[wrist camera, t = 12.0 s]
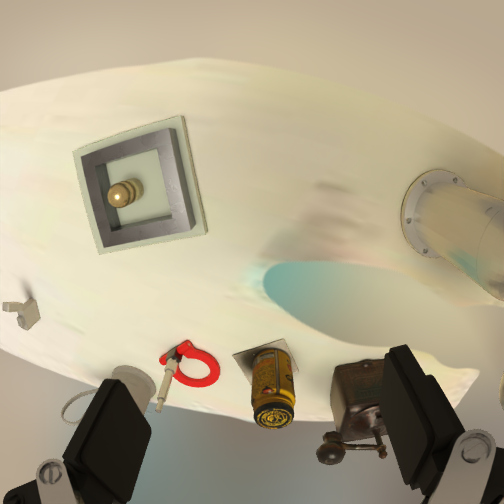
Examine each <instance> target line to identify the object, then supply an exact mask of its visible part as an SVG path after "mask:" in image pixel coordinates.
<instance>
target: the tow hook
mask: <svg viewBox="0 0 504 504" xmlns="http://www.w3.org/2000/svg"><path fill="white" fill-rule="evenodd" d="M183 355H184V356H185V357H187V358H193V359H198V360H201V361H203V362H204V363H206V364H207V365H208V367H209V368H210V374H209V375H208V376H207V377H205V378H203V379H192V378H189V377H187V376H185V375H184V374H182V373H181V371H180V370H179V367H178V364H179V362H181V359H182V356H183ZM159 362H160V363H161V364H162V365H166V367H165V375H164V379H163V382H162V385H161V388H160V391H159V395H158V398H157V399H158V403H157V407H156V412H158V413H160V412H161V410H162V407H163V403H164V402H165V401H166V398H167V395H168V391H169V388H170V384H171V380H172V377H174V378H175V379H176V380H178V381H179V382H180V383H183V384H185V385H187V386H191V387H198V388H199V387H206V386H210V385H212V384H213V383H215V382H216V381H217V380H218V378H219V375H220V367H219V364H218V362H217V361H216V360H215V358H213V357H212V356H211V355H210V354H208V353H206V352H204V351H200V350H197V349H195V348H194V347H193V346H192V343H191V342H190V341H186V342H184V343H183V344H181V345H179V346H177V347H175V348H174V349H172V350H171V351H169V352H168V353H167V354H166V355H164V356H162V357H161V358H159Z"/></svg>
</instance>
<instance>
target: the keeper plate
mask: <svg viewBox="0 0 504 504" xmlns="http://www.w3.org/2000/svg"><path fill="white" fill-rule="evenodd" d="M166 128H173V129H176V133H177V138H178V143H179V148H180V153H181V157H182V162H183V167H184V172H185V176H186V181H187V186H188V190H189V195H190V199H191V204H192V208H193V212H194V217H195V221H196V225H195V226H194V227H193V229H192V230H191V231H187V232H182V233H176V234H171V235H166V236H161V237H156V238H150V239H145V240H140V241H135V242H130V243H126V244H121V245H116V246H111V247H106V248H104V247H103V244H102V240H101V237H100V234H99V230H98V227H97V223H96V220H95V216H94V212H93V209H92V205H91V201H90V197H89V193H88V189H87V184H86V180H85V176H84V171H83V166H82V162H81V156H83V155H86V154H88V153H91V152H94V151H97V150H99V149H102V148H105V147H108V146H111V145H114V144H117V143H120V142H123V141H126V140H129V139H132V138H135V137H138V136H142V135H145V134H148V133H152V132H155V131H159V130H162V129H166ZM73 157H74V162H75V167H76V171H77V176H78V180H79V185H80V189H81V193H82V197H83V201H84V205H85V209H86V213H87V216H88V220H89V223H90V227H91V230H92V234H93V237H94V240H95V244H96V247H97V250H98V253H99V255H101V254H106V253H111V252H116V251H121V250H126V249H131V248H136V247H141V246H147V245H152V244H157V243H162V242H168V241H173V240H179V239H184V238H190V237H195V236H201V235H206V233H207V232H208V230H207V226H206V222H205V217H204V213H203V208H202V204H201V199H200V195H199V190H198V185H197V181H196V176H195V171H194V166H193V162H192V157H191V152H190V147H189V142H188V137H187V132H186V126H185V121H184V117H183V116H177V117H174V118H170V119H166V120H163V121H159V122H156V123H152V124H149V125H146V126H142V127H139V128H136V129H133V130H130V131H127V132H124V133H121V134H118V135H115V136H112V137H109V138H106V139H104V140H101V141H98V142H96V143H93V144H90V145H88V146H85V147H83V148H80V149H78V150H75V151H73ZM106 166H107V171H108V176H109V180H110V184H111V186H112V185H113V184H115V183H118V182H121V181H124V180H127V179H130V178H136V179H138V180H140V181H141V182H142V184H143V187H144V193H143V196H142V197H141V199H139V200H138V201H136V202H134V203H132V204H130V205H128V206H126V207H124V208H116V209H117V212H118V216H119V220H120V224H121V225H126V224H130V223H134V222H139V221H143V220H148V219H152V218H157V217H162V216H166V215H171V210H170V206H169V202H168V197H167V193H166V189H165V184H164V180H163V175H162V171H161V166H160V161H159V157H158V152H157V149H154V150H151V151H147V152H144V153H140V154H137V155H133V156H130V157H127V158H124V159H120V160H117V161H114V162H111V163H108V164H106Z"/></svg>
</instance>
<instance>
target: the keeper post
mask: <svg viewBox="0 0 504 504" xmlns="http://www.w3.org/2000/svg"><path fill="white" fill-rule="evenodd" d="M143 193H144V187H143V184H142V182H141V181H140V180H138V179H136V178H130V179H127V180H124V181H121V182H118V183H115V184H113V185H112V186H111V187H110V189H109V191H108V201H109V203H110V204H111V205H112V206H113V207H115V208H124V207H126V206H128V205H130V204H132V203H134V202H136V201H138V200H139V199H141V197H142V196H143Z"/></svg>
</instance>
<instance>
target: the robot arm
mask: <svg viewBox="0 0 504 504" xmlns="http://www.w3.org/2000/svg"><path fill="white" fill-rule="evenodd" d="M422 182H423V183H422ZM407 218H408V219H407ZM406 219H407V220H406ZM401 223H402V229H403V232H404V235H405V238H406V240H407V241H408V243H409V244H410V246H411V247H412V248H413V249H414V250H416V251H417V252H418V253H419V254H421V255H423V256H426V257H430V258H439V257H443V258H445V259H446V260H447V261H449V262H450V263H451V264H453V265H454V266H455V267H457V268H458V269H459V270H460V271H462V272H463V273H464V274H466V275H467V276H468V277H469V278H471V279H472V280H473V281H474V282H476V283H477V284H478V285H479V286H481V287H482V288H483V289H484V290H486V291H487V292H488V293H490V294H491V295H492V296H494V297H495V298H497V299H499V300H502V301H504V201H503V200H501V199H498V198H495V197H492V196H489V195H486V194H483V193H480V192H477V191H474V190H471V189H468V187H467V186H466V184H465V183H464V181H463V180H462V179H461V178H460V177H459V176H457V175H455V174H454V173H452V172H448V171H444V170H433V171H430V172H427V173H425V174H423V175H422V176H420V177H419V178H418V179H417V180H416V181H415V182H414V183H413V184H412V186H411V187H410V188H409V190H408V192H407V194H406V196H405V199H404V202H403V206H402V212H401ZM499 399H500V403H501V406H502V408H503V410H504V373H503V376H502V378H501V382H500V387H499ZM379 409H380V413H381V416H382V419H383V421H384V424H385V427H386V430H387V433H388V435H389V438H390V441H391V444H392V447H393V450H394V453H395V456H396V459H397V462H398V465H399V468H400V471H401V474H402V477H403V480H404V483H405V484H406V485H408V484H410V486H411V489H412V490H414V489H417V488H420V489H421V492H422V494H423V495H425V496H424V498H423V500H422V502H421V503H420V504H504V449H503V448H499V447H496V443H495V439H494V438H493V436H492V435H491V434H490V433H488V432H487V431H484V430H481V429H473V430H468V431H465V429H464V428H463V426H462V424H461V422H460V420H459V418H458V417H457V415H456V413H455V411H454V409H453V408H452V406H451V404H450V402H449V401H448V399H447V397H446V396H445V394H444V392H443V390H442V389H441V387H440V385H439V384H438V382H437V380H436V379H435V378H434V376H433V375H431V374H430V375H425V373H424V372H423V370H422V368H421V367H420V365H419V363H418V362H417V360H416V358H415V357H414V355H413V354H412V352H411V350H410V349H409V347H408V346H407V345H406V344H405V345H401V346H397V347H393V348H390V350H389V353H386V354H385V359H384V369H383V378H382V386H381V394H380V401H379ZM150 437H151V427H150V425H149V424H148V422H147V420H146V419H145V417H144V415H143V414H142V412H141V411H140V409H139V407H138V406H137V404H136V402H135V401H134V399H133V397H132V395H131V394H130V392H129V390H128V388H127V387H126V385H125V384H124V383H122V382H121V380H119V379H105V380H104V381H103V382H102V384H101V386H100V387H99V389H98V391H97V393H96V394H95V396H94V398H93V400H92V402H91V403H90V405H89V407H88V409H87V411H86V412H85V414H84V416H83V418H82V420H81V422H80V423H79V425H78V427H77V429H76V431H75V433H74V435H73V437H72V439H71V440H70V442H69V444H68V446H67V448H66V450H65V452H64V454H63V456H62V457H63V459H64V461H63V462H61V461H60V460H58V459H48V460H46V461H44V462H43V463H42V464H41V465H40V466H39V468H38V469H37V472H36V479H35V480H33V481H31V482H28V483H26V484H24V485H21V486H19V487H17V488H14V489H12V490H10V491H8V493H7V494H6V495H5V497H4V500H3V504H126V503H127V502H128V501H130V500H131V497H132V493H133V490H134V487H135V483H136V481H137V477H138V474H139V471H140V468H141V465H142V462H143V458H144V455H145V452H146V449H147V446H148V443H149V440H150Z"/></svg>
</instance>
